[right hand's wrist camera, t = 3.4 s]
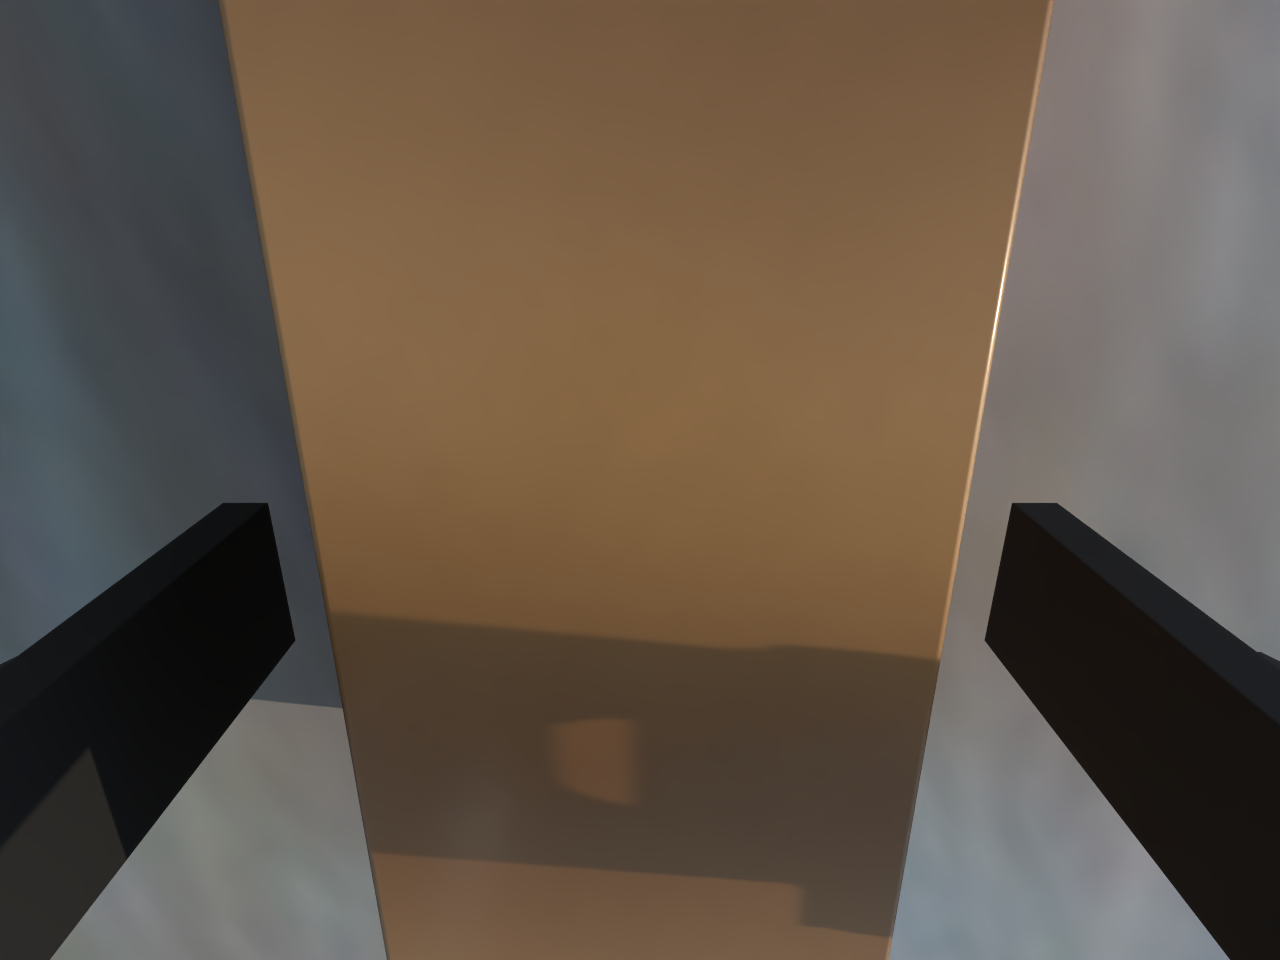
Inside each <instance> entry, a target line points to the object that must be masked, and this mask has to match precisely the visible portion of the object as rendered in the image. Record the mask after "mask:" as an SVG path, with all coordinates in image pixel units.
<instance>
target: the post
mask: <svg viewBox="0 0 1280 960" xmlns="http://www.w3.org/2000/svg"><path fill="white" fill-rule="evenodd" d="M218 4H219V9H220V15H221V21H222V26H223V32H224V38H225V43H226V49H227V55H228V60H229V66H230V72H231V77H232V83H233V89H234V94H235V100H236V106H237V111H238V117H239V123H240V128H241V134H242V140H243V145H244V151H245V157H246V162H247V168H248V174H249V179H250V185H251V191H252V196H253V202H254V208H255V213H256V219H257V225H258V230H259V236H260V242H261V247H262V253H263V259H264V264H265V270H266V276H267V281H268V287H269V293H270V298H271V304H272V310H273V316H274V321H275V327H276V333H277V338H278V344H279V350H280V355H281V361H282V367H283V372H284V378H285V384H286V389H287V395H288V401H289V406H290V412H291V418H292V423H293V429H294V435H295V440H296V446H297V452H298V457H299V463H300V469H301V474H302V480H303V486H304V491H305V497H306V503H307V508H308V514H309V520H310V525H311V531H312V537H313V542H314V548H315V554H316V559H317V565H318V571H319V576H320V582H321V588H322V593H323V599H324V605H325V610H326V616H327V622H328V627H329V633H330V639H331V644H332V650H333V656H334V661H335V667H336V673H337V678H338V684H339V690H340V695H341V701H342V707H343V712H344V718H345V724H346V729H347V735H348V741H349V746H350V752H351V758H352V763H353V769H354V775H355V780H356V786H357V792H358V797H359V803H360V809H361V814H362V820H363V826H364V831H365V837H366V843H367V849H368V854H369V860H370V866H371V871H372V877H373V883H374V888H375V894H376V900H377V905H378V911H379V917H380V922H381V928H382V934H383V939H384V945H385V951H386V956H387V960H888V959H889V954H890V948H891V942H892V936H893V930H894V925H895V919H896V913H897V907H898V902H899V896H900V890H901V884H902V878H903V873H904V867H905V861H906V855H907V850H908V844H909V838H910V832H911V826H912V821H913V815H914V809H915V803H916V798H917V792H918V786H919V780H920V774H921V769H922V763H923V757H924V751H925V746H926V740H927V734H928V728H929V722H930V717H931V711H932V705H933V699H934V694H935V688H936V682H937V676H938V670H939V665H940V659H941V653H942V647H943V642H944V636H945V630H946V624H947V618H948V613H949V607H950V601H951V595H952V590H953V584H954V578H955V572H956V566H957V561H958V555H959V549H960V543H961V537H962V532H963V526H964V520H965V514H966V509H967V503H968V497H969V491H970V485H971V480H972V474H973V468H974V462H975V457H976V451H977V445H978V439H979V433H980V428H981V422H982V416H983V410H984V405H985V399H986V393H987V387H988V381H989V376H990V370H991V364H992V358H993V353H994V347H995V341H996V335H997V329H998V324H999V318H1000V312H1001V306H1002V301H1003V295H1004V289H1005V283H1006V277H1007V272H1008V266H1009V260H1010V254H1011V249H1012V243H1013V237H1014V231H1015V225H1016V220H1017V214H1018V208H1019V202H1020V197H1021V191H1022V185H1023V179H1024V173H1025V168H1026V162H1027V156H1028V150H1029V145H1030V139H1031V133H1032V127H1033V121H1034V116H1035V110H1036V104H1037V98H1038V93H1039V87H1040V81H1041V75H1042V69H1043V64H1044V58H1045V52H1046V46H1047V41H1048V35H1049V29H1050V23H1051V17H1052V12H1053V6H1054V0H218Z"/></svg>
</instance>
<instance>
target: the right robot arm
mask: <svg viewBox="0 0 1280 960" xmlns="http://www.w3.org/2000/svg"><path fill="white" fill-rule="evenodd" d="M294 641H295V636H294V631H293V626H292V621H291V616H290V611H289V606H288V601H287V596H286V591H285V586H284V581H283V576H282V571H281V566H280V561H279V556H278V551H277V546H276V541H275V536H274V531H273V526H272V521H271V516H270V511H269V506H268V503H222V504H221V505H220V506H218V507H217V508H216V509H214V510H213V511H212V512H210V513H209V514H208V515H206V516H205V517H204V518H202V519H201V520H200V521H198V522H197V523H196V524H194V525H193V526H192V527H190V528H189V529H188V530H186V531H185V532H184V533H182V534H181V535H180V536H178V537H177V538H176V539H174V540H173V541H172V542H170V543H169V544H167V545H166V546H165V547H163V548H162V549H161V550H159V551H158V552H157V553H155V554H154V555H153V556H151V557H150V558H149V559H147V560H146V561H145V562H143V563H142V564H141V565H139V566H138V567H137V568H135V569H134V570H133V571H131V572H130V573H129V574H127V575H126V576H125V577H123V578H122V579H121V580H119V581H118V582H117V583H115V584H114V585H112V586H111V587H110V588H108V589H107V590H106V591H104V592H103V593H102V594H100V595H99V596H98V597H96V598H95V599H94V600H92V601H91V602H90V603H88V604H87V605H86V606H84V607H83V608H82V609H80V610H79V611H78V612H76V613H75V614H74V615H72V616H71V617H70V618H68V619H67V620H66V621H64V622H63V623H62V624H60V625H59V626H57V627H56V628H55V629H53V630H52V631H51V632H49V633H48V634H47V635H45V636H44V637H43V638H41V639H40V640H39V641H37V642H36V643H35V644H33V645H32V646H31V647H29V648H28V649H27V650H25V651H24V652H23V653H21V654H20V655H19V656H17V657H15V658H13V659H11V660H9V661H7V662H5V663H3V664H0V960H50V959H51V957H52V956H53V955H54V954H55V952H56V951H57V950H58V948H59V947H60V946H61V944H62V943H63V942H64V941H65V939H66V938H67V937H68V935H69V934H70V933H71V931H72V930H73V929H74V928H75V926H76V925H77V924H78V922H79V921H80V920H81V918H82V917H83V916H84V915H85V913H86V912H87V911H88V909H89V908H90V907H91V905H92V904H93V903H94V902H95V900H96V899H97V898H98V896H99V895H100V894H101V892H102V891H103V890H104V889H105V887H106V886H107V885H108V883H109V882H110V881H111V879H112V878H113V877H114V875H115V874H116V873H117V872H118V870H119V869H120V868H121V866H122V865H123V864H124V862H125V861H126V860H127V859H128V857H129V856H130V855H131V853H132V852H133V851H134V849H135V848H136V847H137V846H138V844H139V843H140V842H141V840H142V839H143V838H144V836H145V835H146V834H147V833H148V831H149V830H150V829H151V827H152V826H153V825H154V823H155V822H156V821H157V820H158V818H159V817H160V816H161V814H162V813H163V812H164V810H165V809H166V808H167V807H168V805H169V804H170V803H171V801H172V800H173V799H174V797H175V796H176V795H177V794H178V792H179V791H180V790H181V788H182V787H183V786H184V784H185V783H186V782H187V781H188V779H189V778H190V777H191V775H192V774H193V773H194V771H195V770H196V769H197V768H198V766H199V765H200V764H201V762H202V761H203V760H204V758H205V757H206V756H207V755H208V753H209V752H210V751H211V749H212V748H213V747H214V745H215V744H216V743H217V742H218V740H219V739H220V738H221V736H222V735H223V734H224V732H225V731H226V730H227V729H228V727H229V726H230V725H231V723H232V722H233V721H234V719H235V718H236V717H237V716H238V714H239V713H240V712H241V710H242V709H243V708H244V706H245V705H246V704H247V703H248V701H249V700H250V699H251V697H252V696H253V695H254V693H255V692H256V691H257V690H258V688H259V687H260V686H261V684H262V683H263V682H264V680H265V679H266V678H267V677H268V675H269V674H270V673H271V671H272V670H273V669H274V667H275V666H276V665H277V664H278V662H279V661H280V660H281V658H282V657H283V656H284V654H285V653H286V652H287V651H288V649H289V648H290V647H291V645H292V644H293V643H294ZM985 641H986V643H987V644H988V645H989V647H990V648H991V649H992V651H993V652H994V653H995V654H996V656H997V657H998V658H999V660H1000V661H1001V662H1002V664H1003V665H1004V666H1005V667H1006V669H1007V670H1008V671H1009V673H1010V674H1011V675H1012V677H1013V678H1014V679H1015V680H1016V682H1017V683H1018V684H1019V686H1020V687H1021V688H1022V690H1023V691H1024V692H1025V693H1026V695H1027V696H1028V697H1029V699H1030V700H1031V701H1032V703H1033V704H1034V705H1035V706H1036V708H1037V709H1038V710H1039V712H1040V713H1041V714H1042V716H1043V717H1044V718H1045V719H1046V721H1047V722H1048V723H1049V725H1050V726H1051V727H1052V729H1053V730H1054V731H1055V733H1056V734H1057V735H1058V736H1059V738H1060V739H1061V740H1062V742H1063V743H1064V744H1065V746H1066V747H1067V748H1068V749H1069V751H1070V752H1071V753H1072V755H1073V756H1074V757H1075V759H1076V760H1077V761H1078V762H1079V764H1080V765H1081V766H1082V768H1083V769H1084V770H1085V772H1086V773H1087V774H1088V775H1089V777H1090V778H1091V779H1092V781H1093V782H1094V783H1095V785H1096V786H1097V787H1098V788H1099V790H1100V791H1101V792H1102V794H1103V795H1104V796H1105V798H1106V799H1107V800H1108V801H1109V803H1110V804H1111V805H1112V807H1113V808H1114V809H1115V811H1116V812H1117V813H1118V814H1119V816H1120V817H1121V818H1122V820H1123V821H1124V822H1125V824H1126V825H1127V826H1128V827H1129V829H1130V830H1131V831H1132V833H1133V834H1134V835H1135V837H1136V838H1137V839H1138V840H1139V842H1140V843H1141V844H1142V846H1143V847H1144V848H1145V850H1146V851H1147V852H1148V853H1149V855H1150V856H1151V857H1152V859H1153V860H1154V861H1155V863H1156V864H1157V865H1158V866H1159V868H1160V869H1161V870H1162V872H1163V873H1164V874H1165V876H1166V877H1167V878H1168V879H1169V881H1170V882H1171V883H1172V885H1173V886H1174V887H1175V889H1176V890H1177V891H1178V892H1179V894H1180V895H1181V896H1182V898H1183V899H1184V900H1185V902H1186V903H1187V904H1188V905H1189V907H1190V908H1191V909H1192V911H1193V912H1194V913H1195V915H1196V916H1197V917H1198V918H1199V920H1200V921H1201V922H1202V924H1203V925H1204V926H1205V928H1206V929H1207V930H1208V931H1209V933H1210V934H1211V935H1212V937H1213V938H1214V939H1215V941H1216V942H1217V943H1218V944H1219V946H1220V947H1221V948H1222V950H1223V951H1224V952H1225V954H1226V955H1227V956H1228V957H1229V959H1230V960H1280V661H1278V660H1276V659H1274V658H1272V657H1270V656H1268V655H1266V654H1264V653H1262V652H1256V651H1255V650H1253V649H1252V648H1251V647H1249V646H1248V645H1247V644H1245V643H1244V642H1243V641H1241V640H1240V639H1239V638H1237V637H1236V636H1235V635H1233V634H1232V633H1231V632H1229V631H1228V630H1226V629H1225V628H1224V627H1222V626H1221V625H1220V624H1218V623H1217V622H1216V621H1214V620H1213V619H1212V618H1210V617H1209V616H1208V615H1206V614H1205V613H1204V612H1202V611H1201V610H1200V609H1198V608H1197V607H1196V606H1194V605H1193V604H1192V603H1190V602H1189V601H1188V600H1186V599H1185V598H1184V597H1182V596H1181V595H1180V594H1178V593H1177V592H1176V591H1174V590H1173V589H1172V588H1170V587H1169V586H1167V585H1166V584H1165V583H1163V582H1162V581H1161V580H1159V579H1158V578H1157V577H1155V576H1154V575H1153V574H1151V573H1150V572H1149V571H1147V570H1146V569H1145V568H1143V567H1142V566H1141V565H1139V564H1138V563H1137V562H1135V561H1134V560H1133V559H1131V558H1130V557H1129V556H1127V555H1126V554H1125V553H1123V552H1122V551H1121V550H1119V549H1118V548H1117V547H1115V546H1114V545H1112V544H1111V543H1110V542H1108V541H1107V540H1106V539H1104V538H1103V537H1102V536H1100V535H1099V534H1098V533H1096V532H1095V531H1094V530H1092V529H1091V528H1090V527H1088V526H1087V525H1086V524H1084V523H1083V522H1082V521H1080V520H1079V519H1078V518H1076V517H1075V516H1074V515H1072V514H1071V513H1070V512H1068V511H1067V510H1066V509H1064V508H1063V507H1062V506H1060V505H1059V504H1058V503H1012V506H1011V511H1010V516H1009V521H1008V526H1007V531H1006V536H1005V541H1004V546H1003V551H1002V556H1001V561H1000V566H999V571H998V576H997V581H996V586H995V591H994V596H993V601H992V606H991V611H990V616H989V621H988V626H987V631H986V636H985Z"/></svg>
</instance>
